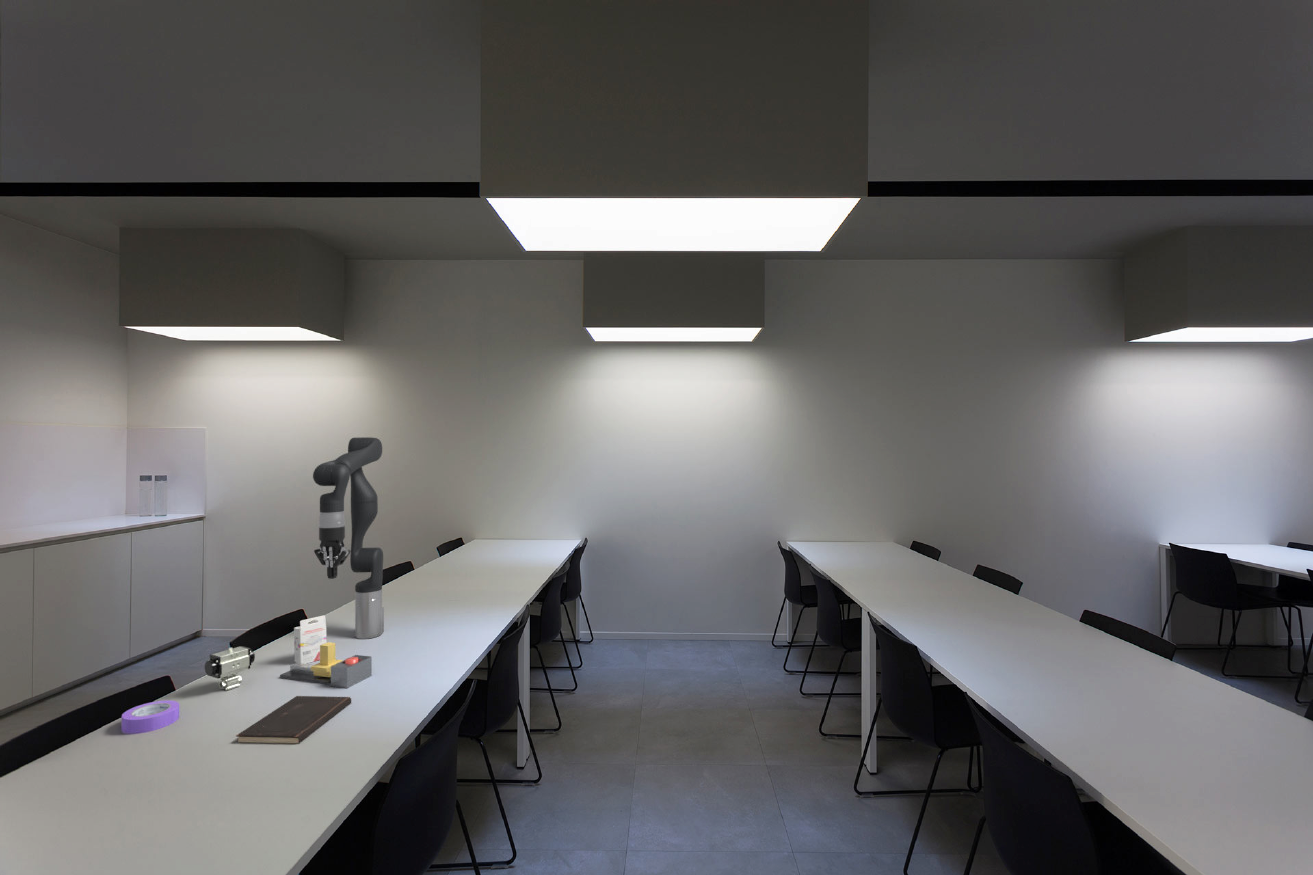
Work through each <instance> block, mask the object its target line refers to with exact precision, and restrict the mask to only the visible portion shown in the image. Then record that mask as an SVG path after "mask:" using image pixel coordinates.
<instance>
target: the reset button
mask: <svg viewBox="0 0 1313 875" xmlns="http://www.w3.org/2000/svg"><path fill="white" fill-rule="evenodd" d="M344 660H345V664H354V663H356V662H358V657H352V656H351V657H348V658H345V659H344Z"/></svg>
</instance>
